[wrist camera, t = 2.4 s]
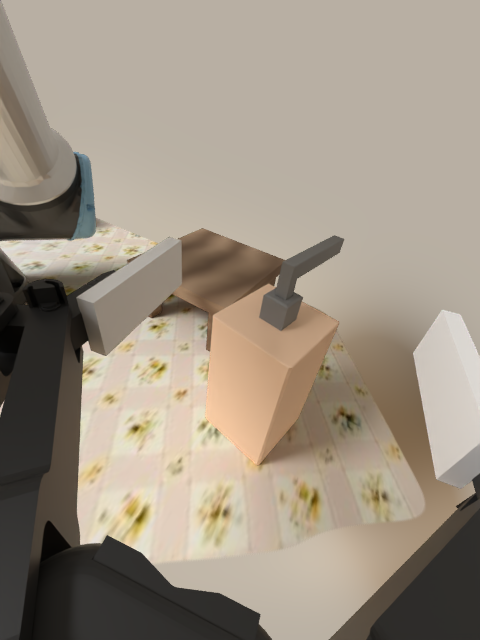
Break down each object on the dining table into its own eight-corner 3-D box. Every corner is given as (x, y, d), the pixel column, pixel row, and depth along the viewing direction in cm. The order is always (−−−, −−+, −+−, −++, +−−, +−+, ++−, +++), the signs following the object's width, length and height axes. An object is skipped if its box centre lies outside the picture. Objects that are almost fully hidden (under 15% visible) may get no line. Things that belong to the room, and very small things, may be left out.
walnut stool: (134, 312, 50) (127, 260, 44) (200, 273, 62) (202, 228, 56) (219, 362, 44) (225, 308, 37) (274, 307, 56) (286, 260, 50)
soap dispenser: (257, 466, 32) (311, 308, 19) (204, 417, 36) (215, 256, 22) (314, 399, 40) (381, 253, 27) (265, 364, 44) (302, 222, 30)
